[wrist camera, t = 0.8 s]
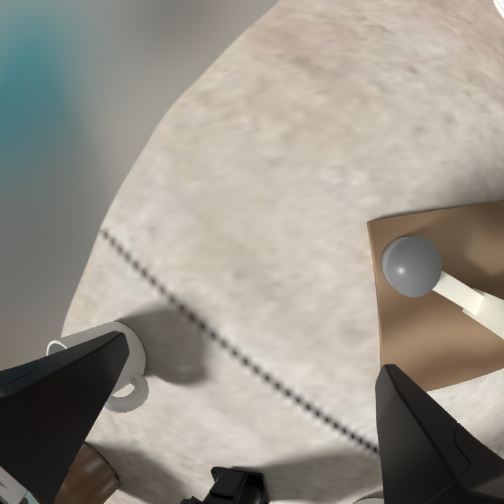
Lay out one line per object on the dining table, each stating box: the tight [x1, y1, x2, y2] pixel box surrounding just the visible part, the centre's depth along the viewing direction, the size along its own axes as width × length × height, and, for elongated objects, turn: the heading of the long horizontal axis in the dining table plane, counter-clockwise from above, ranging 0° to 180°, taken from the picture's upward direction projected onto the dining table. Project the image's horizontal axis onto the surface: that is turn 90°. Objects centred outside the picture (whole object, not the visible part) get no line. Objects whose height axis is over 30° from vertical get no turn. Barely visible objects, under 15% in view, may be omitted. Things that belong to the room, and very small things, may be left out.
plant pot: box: [31, 444, 120, 504], centre depth 27 cm, size 16×16×16 cm
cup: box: [47, 322, 149, 413], centre depth 24 cm, size 7×10×9 cm
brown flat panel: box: [367, 200, 504, 392], centre depth 17 cm, size 14×17×2 cm
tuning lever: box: [380, 237, 504, 339], centre depth 12 cm, size 16×4×10 cm, turn 65°
